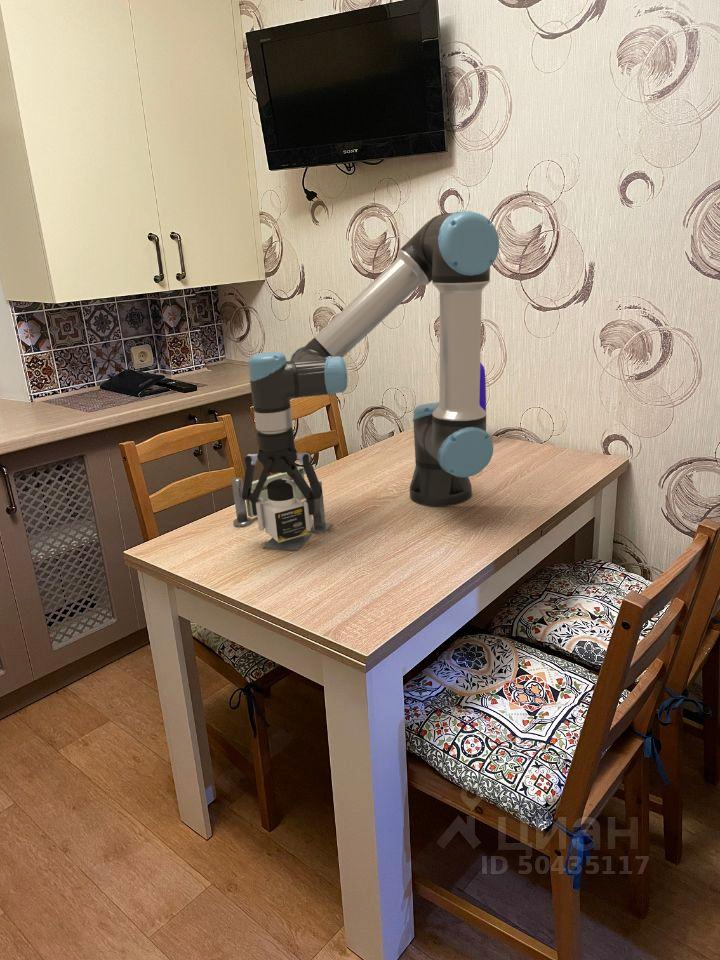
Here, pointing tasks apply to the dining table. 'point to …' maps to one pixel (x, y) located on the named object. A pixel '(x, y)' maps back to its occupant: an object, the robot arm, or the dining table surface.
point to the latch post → (319, 516)
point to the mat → (287, 543)
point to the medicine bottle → (283, 511)
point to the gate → (265, 494)
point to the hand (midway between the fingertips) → (286, 528)
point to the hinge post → (240, 504)
